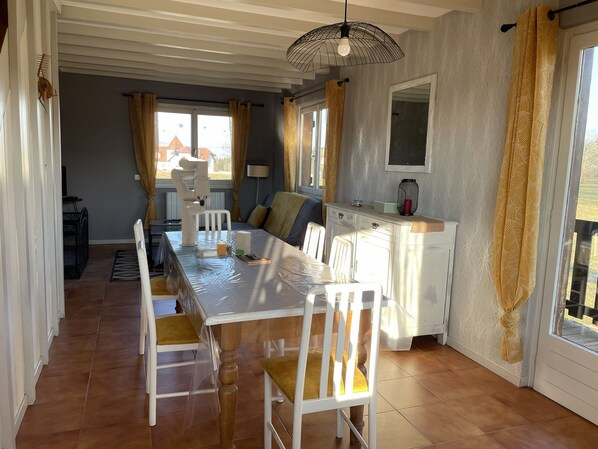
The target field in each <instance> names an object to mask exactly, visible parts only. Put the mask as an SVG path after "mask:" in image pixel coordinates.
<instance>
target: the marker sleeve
mask: <svg viewBox="0 0 598 449" xmlns="http://www.w3.org/2000/svg"><path fill="white" fill-rule="evenodd" d="M226 246H227V243H225V242H216V248H218V251H216V253H217V254H218V255H226V253H227V252H226Z"/></svg>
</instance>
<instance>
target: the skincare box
mask: <svg viewBox="0 0 598 449" xmlns="http://www.w3.org/2000/svg"><path fill="white" fill-rule="evenodd" d="M251 241H252V232H251V231H243V230H239V231H235V246H234V250H235V251H234V255H235V256H239V255H247V254H250V255H251V243H252V242H251Z"/></svg>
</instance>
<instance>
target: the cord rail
mask: <svg viewBox="0 0 598 449" xmlns="http://www.w3.org/2000/svg"><path fill="white" fill-rule="evenodd" d="M232 249H233V246H232V245H231V244H226V255H218V254H217V251H218V248H217V247H215V248H214V247H213V248H202V247H197V254H196V255H197V257H198V258H200V259H209V258H210V259H211V258H224V257H226V258H227V257H228V258H229V257H234V255H233V250H232ZM205 252H214V253H205ZM215 252H216V253H215Z"/></svg>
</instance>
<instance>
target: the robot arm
mask: <svg viewBox="0 0 598 449" xmlns="http://www.w3.org/2000/svg"><path fill="white" fill-rule="evenodd" d="M178 166H179V167H174V168H172V169H171V172H170V178H171V181H172V183H173V185H174V186H175V188H176V191H177V195H178V199H179V200H180V203H181V204H180V206H179V209H180V215H181V242H179V246H182V247H193V246H194V247H195V246H197V245H198V242H196V221H195V220H196V219H195V217H193V215H203V214H204V213H205V211H206V204H205V201H206V199H208V198H211V187H210V186H211V185H210V181H209V180H210V179H211V177H210V176H209V161H208V160H205V159H198V158H197V157H182V158H180V159H179V161H178ZM195 177H196V180H194V184H193V186H194V187H193V189H190V188H189V185H188V184H187V183H186V182H185V181H184V180H193V179H195Z"/></svg>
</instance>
